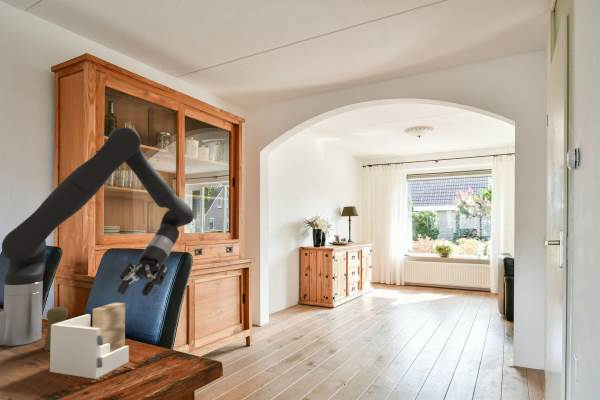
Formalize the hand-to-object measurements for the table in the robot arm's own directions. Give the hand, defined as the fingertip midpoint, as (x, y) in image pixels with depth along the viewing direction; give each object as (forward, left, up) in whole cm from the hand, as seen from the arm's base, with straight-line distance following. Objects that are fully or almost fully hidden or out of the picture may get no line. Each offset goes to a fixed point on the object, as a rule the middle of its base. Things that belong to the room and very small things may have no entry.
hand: (132, 293), depth 113 cm
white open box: (-5, -20, -14) cm, 24 cm away
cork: (-19, -2, -14) cm, 24 cm away
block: (-4, -8, -14) cm, 16 cm away
